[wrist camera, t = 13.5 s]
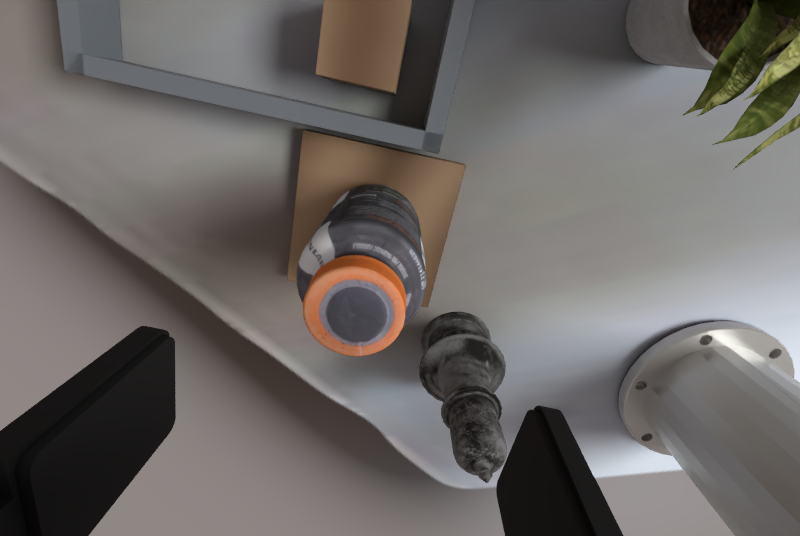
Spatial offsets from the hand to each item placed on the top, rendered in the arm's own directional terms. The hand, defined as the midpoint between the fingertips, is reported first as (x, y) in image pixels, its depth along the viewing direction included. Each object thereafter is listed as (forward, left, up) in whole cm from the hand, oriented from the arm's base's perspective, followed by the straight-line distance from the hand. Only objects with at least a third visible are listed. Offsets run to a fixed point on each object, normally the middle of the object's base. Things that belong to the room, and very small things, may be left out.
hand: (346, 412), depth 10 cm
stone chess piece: (-7, +8, -18) cm, 20 cm away
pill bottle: (0, 0, -16) cm, 16 cm away
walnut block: (+3, -10, -17) cm, 20 cm away
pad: (+1, 0, -17) cm, 17 cm away
